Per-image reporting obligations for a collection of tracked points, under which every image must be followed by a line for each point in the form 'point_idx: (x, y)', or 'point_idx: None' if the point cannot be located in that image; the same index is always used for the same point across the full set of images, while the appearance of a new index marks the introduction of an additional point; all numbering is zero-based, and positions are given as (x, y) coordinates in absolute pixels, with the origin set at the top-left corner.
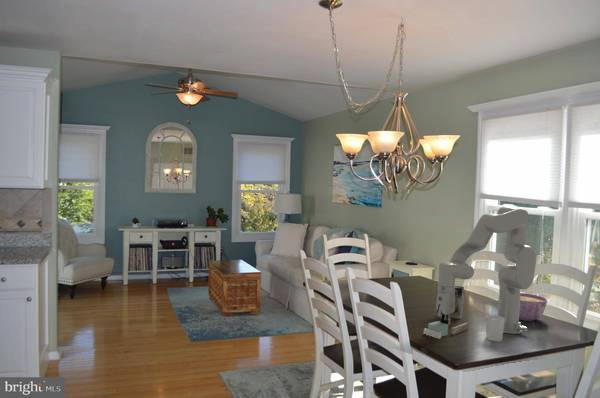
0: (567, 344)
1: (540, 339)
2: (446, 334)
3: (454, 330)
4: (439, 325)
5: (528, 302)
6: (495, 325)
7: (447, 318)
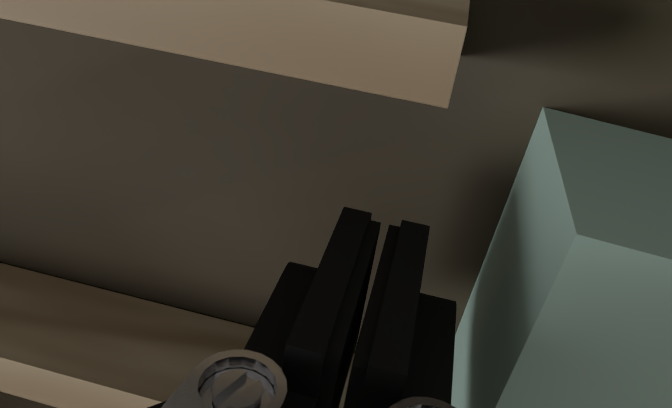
0: None
1: None
2: (594, 125)
3: (408, 2)
4: None
5: None
6: None
7: (285, 401)
